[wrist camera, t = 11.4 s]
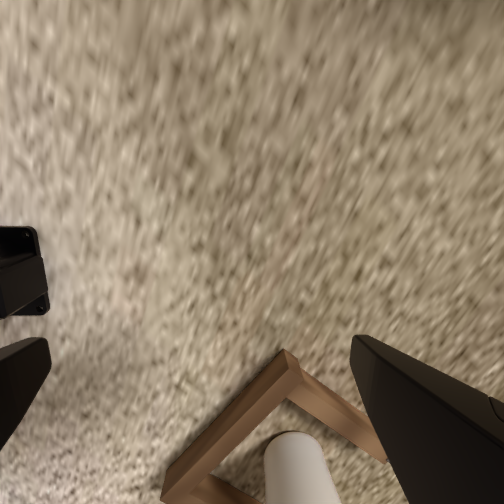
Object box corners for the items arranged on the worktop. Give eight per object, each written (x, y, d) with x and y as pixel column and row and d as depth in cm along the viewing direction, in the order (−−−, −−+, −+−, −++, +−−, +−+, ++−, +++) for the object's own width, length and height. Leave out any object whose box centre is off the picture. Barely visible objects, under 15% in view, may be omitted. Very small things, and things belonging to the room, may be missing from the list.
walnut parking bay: (166, 470, 27) (159, 501, 24) (283, 348, 24) (289, 369, 21) (272, 529, 29) (276, 562, 27) (389, 425, 26) (404, 452, 24)
